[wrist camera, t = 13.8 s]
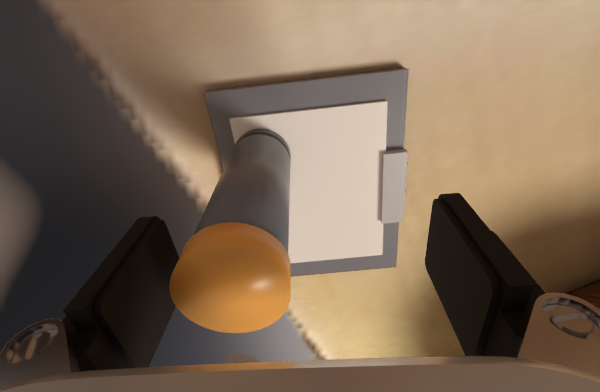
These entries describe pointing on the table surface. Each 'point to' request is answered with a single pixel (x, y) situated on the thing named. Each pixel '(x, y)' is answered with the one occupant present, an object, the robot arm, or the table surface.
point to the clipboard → (331, 162)
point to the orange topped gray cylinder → (241, 242)
